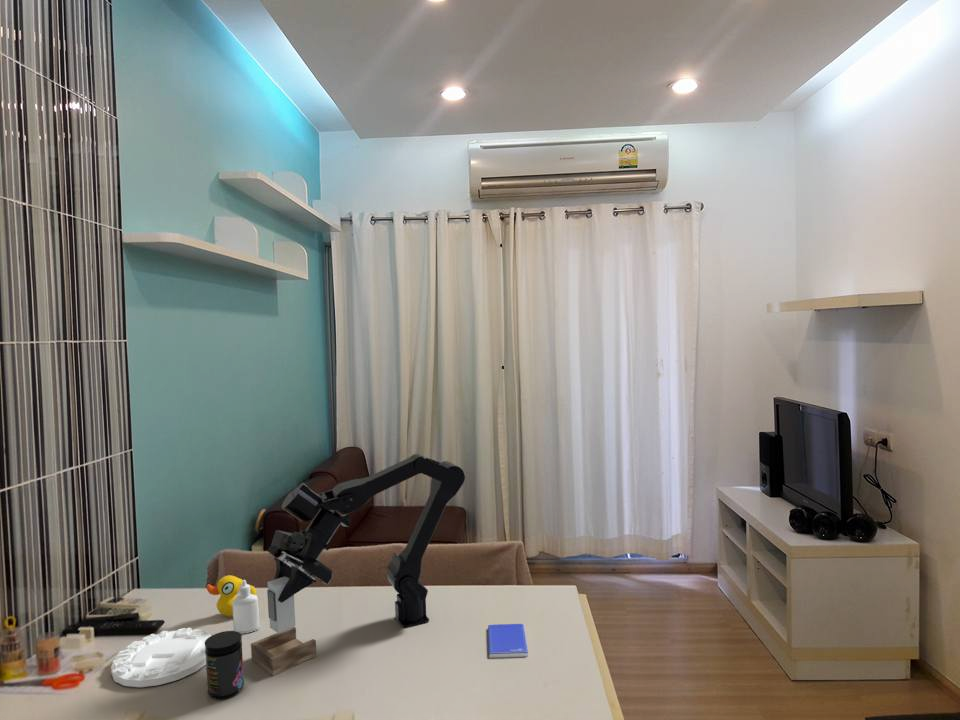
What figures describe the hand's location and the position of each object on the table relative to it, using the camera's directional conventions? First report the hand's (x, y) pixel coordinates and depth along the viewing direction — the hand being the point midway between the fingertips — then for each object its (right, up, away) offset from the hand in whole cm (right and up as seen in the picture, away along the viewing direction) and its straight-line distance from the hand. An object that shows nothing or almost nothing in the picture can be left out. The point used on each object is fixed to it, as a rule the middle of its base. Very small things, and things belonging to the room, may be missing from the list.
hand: (275, 598), depth 132 cm
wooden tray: (+1, -13, +2) cm, 14 cm away
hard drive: (+49, -12, +6) cm, 51 cm away
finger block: (+1, -6, +1) cm, 7 cm away
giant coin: (-24, -15, +2) cm, 28 cm away
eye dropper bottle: (-11, -13, +15) cm, 23 cm away
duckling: (-18, -13, +23) cm, 32 cm away
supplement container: (-7, -15, -9) cm, 19 cm away
